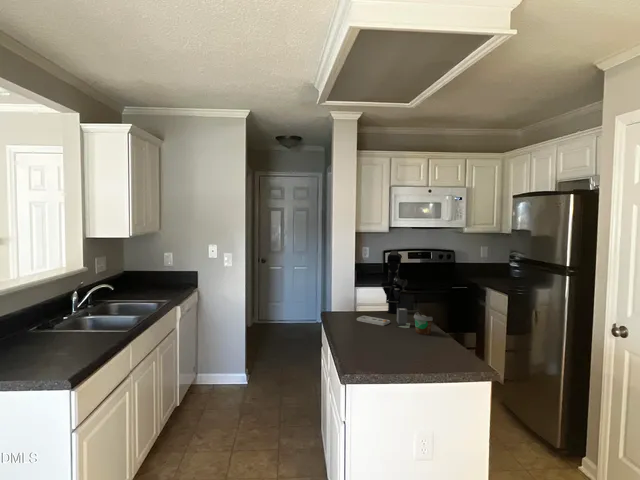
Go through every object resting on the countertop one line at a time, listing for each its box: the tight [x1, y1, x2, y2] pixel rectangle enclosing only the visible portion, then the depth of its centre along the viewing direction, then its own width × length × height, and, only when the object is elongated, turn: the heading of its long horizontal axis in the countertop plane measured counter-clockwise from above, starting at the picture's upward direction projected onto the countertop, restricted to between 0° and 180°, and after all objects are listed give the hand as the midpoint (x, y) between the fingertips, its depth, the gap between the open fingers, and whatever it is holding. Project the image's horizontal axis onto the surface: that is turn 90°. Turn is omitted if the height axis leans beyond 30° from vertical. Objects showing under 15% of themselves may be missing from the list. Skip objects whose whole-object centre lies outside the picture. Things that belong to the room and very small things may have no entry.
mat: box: [395, 322, 411, 329], centre depth 253 cm, size 9×9×1 cm
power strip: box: [356, 315, 391, 326], centre depth 257 cm, size 18×8×3 cm, turn 53°
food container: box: [413, 311, 433, 336], centre depth 237 cm, size 12×6×10 cm, turn 25°
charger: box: [396, 307, 408, 326], centre depth 253 cm, size 5×5×9 cm
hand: (392, 300), depth 267 cm, fingers open, 9 cm apart
